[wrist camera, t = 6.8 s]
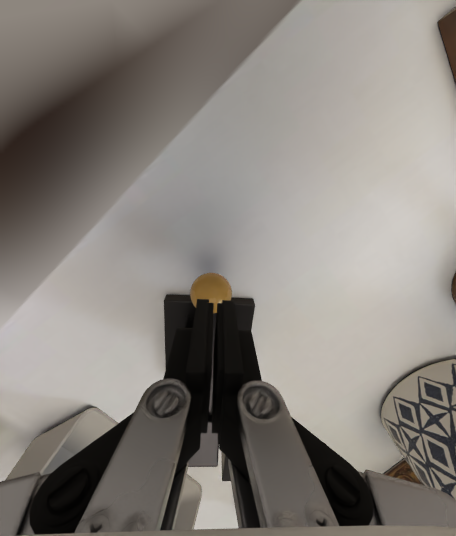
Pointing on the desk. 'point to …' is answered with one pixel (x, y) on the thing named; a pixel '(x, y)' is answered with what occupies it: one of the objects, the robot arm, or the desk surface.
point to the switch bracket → (182, 316)
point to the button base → (449, 37)
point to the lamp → (454, 288)
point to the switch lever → (215, 291)
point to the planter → (426, 424)
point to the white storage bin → (77, 438)
